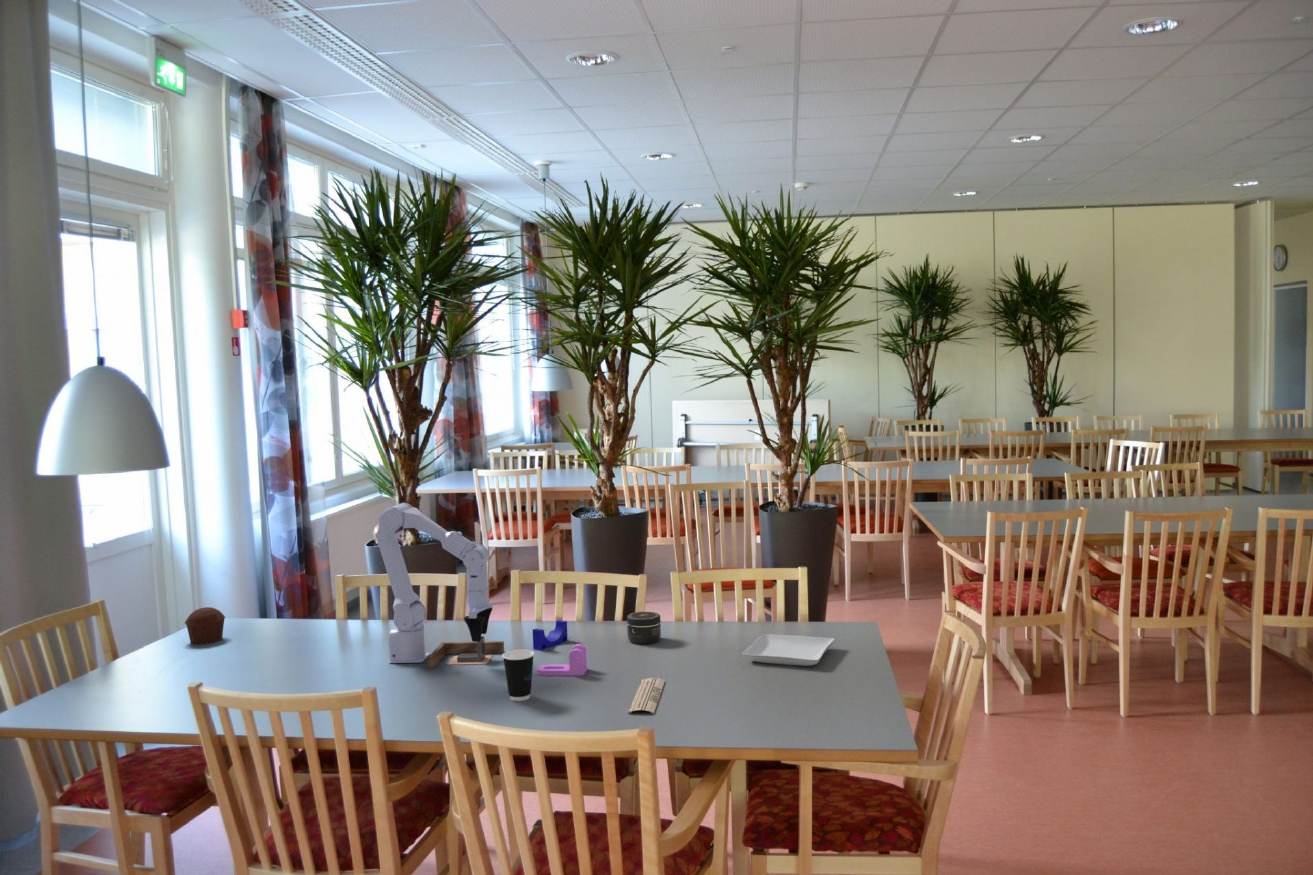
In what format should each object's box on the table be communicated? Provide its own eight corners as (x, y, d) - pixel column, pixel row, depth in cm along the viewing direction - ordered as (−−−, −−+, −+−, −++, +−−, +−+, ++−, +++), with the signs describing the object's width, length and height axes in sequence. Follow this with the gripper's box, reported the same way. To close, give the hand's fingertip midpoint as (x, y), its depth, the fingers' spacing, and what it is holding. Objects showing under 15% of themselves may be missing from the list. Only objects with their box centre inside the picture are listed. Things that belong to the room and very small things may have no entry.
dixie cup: (537, 701, 238) (536, 656, 237) (505, 704, 236) (503, 659, 235) (534, 690, 246) (532, 647, 245) (502, 694, 244) (500, 650, 243)
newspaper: (641, 684, 250) (641, 677, 250) (669, 684, 250) (669, 677, 249) (628, 716, 227) (628, 709, 227) (658, 717, 226) (658, 709, 226)
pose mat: (447, 664, 270) (447, 664, 270) (454, 656, 278) (454, 655, 278) (486, 664, 269) (486, 663, 269) (492, 655, 277) (492, 655, 277)
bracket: (587, 669, 263) (586, 643, 262) (583, 675, 257) (582, 649, 256) (539, 669, 264) (538, 644, 263) (535, 676, 258) (534, 650, 258)
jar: (620, 642, 287) (619, 616, 287) (640, 634, 295) (639, 609, 295) (648, 647, 281) (647, 620, 281) (667, 638, 290) (667, 613, 289)
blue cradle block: (556, 639, 294) (555, 619, 293) (567, 641, 291) (566, 621, 291) (529, 649, 284) (528, 628, 283) (541, 651, 281) (540, 630, 281)
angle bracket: (485, 657, 275) (484, 636, 275) (482, 661, 271) (481, 640, 271) (460, 657, 276) (459, 636, 275) (457, 661, 272) (456, 640, 271)
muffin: (201, 635, 310) (199, 604, 309) (233, 635, 309) (231, 604, 308) (178, 645, 298) (176, 613, 298) (211, 645, 297) (209, 613, 296)
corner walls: (428, 668, 267) (427, 657, 267) (442, 652, 282) (441, 642, 282) (493, 667, 266) (492, 656, 266) (504, 651, 281) (503, 641, 281)
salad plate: (741, 665, 263) (740, 652, 263) (762, 643, 282) (762, 632, 282) (818, 672, 255) (818, 659, 255) (835, 649, 274) (835, 637, 274)
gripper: (486, 595, 265) (488, 644, 266) (497, 583, 279) (498, 630, 280) (460, 595, 265) (462, 644, 266) (472, 583, 279) (474, 630, 280)
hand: (479, 637), depth 273 cm, fingers open, 7 cm apart
